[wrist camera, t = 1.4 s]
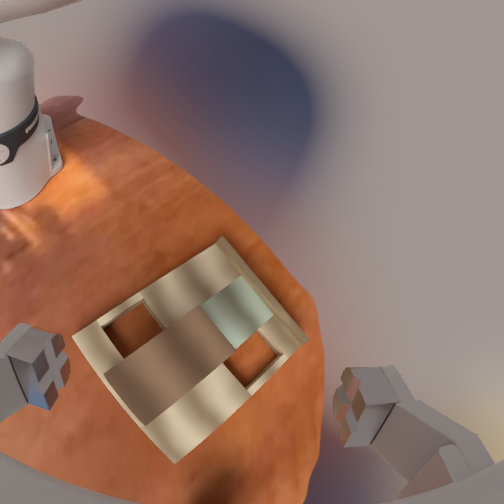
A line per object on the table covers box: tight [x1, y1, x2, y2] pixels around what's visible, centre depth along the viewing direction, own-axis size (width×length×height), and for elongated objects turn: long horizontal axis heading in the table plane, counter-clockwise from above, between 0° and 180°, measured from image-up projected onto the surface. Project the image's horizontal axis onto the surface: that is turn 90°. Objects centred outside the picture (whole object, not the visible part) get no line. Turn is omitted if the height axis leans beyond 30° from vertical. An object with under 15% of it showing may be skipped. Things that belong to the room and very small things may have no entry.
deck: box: [72, 236, 309, 464], centre depth 39 cm, size 26×20×4 cm
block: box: [104, 305, 237, 426], centre depth 31 cm, size 12×6×10 cm, turn 134°
